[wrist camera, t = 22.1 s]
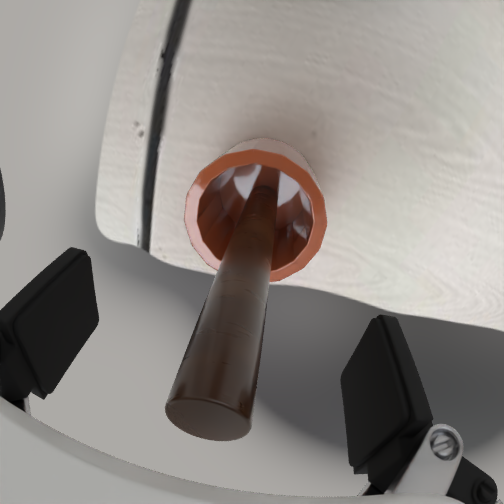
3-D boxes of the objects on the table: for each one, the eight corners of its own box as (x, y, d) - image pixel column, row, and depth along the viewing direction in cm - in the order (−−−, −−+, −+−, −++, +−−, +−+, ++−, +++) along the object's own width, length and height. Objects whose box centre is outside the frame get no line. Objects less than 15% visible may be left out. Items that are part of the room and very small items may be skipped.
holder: (206, 225, 25) (179, 267, 19) (220, 129, 21) (193, 138, 15) (301, 245, 25) (305, 294, 18) (326, 151, 21) (343, 169, 15)
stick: (247, 210, 23) (168, 431, 7) (250, 183, 22) (158, 389, 6) (275, 214, 23) (246, 447, 7) (279, 187, 22) (256, 408, 6)
